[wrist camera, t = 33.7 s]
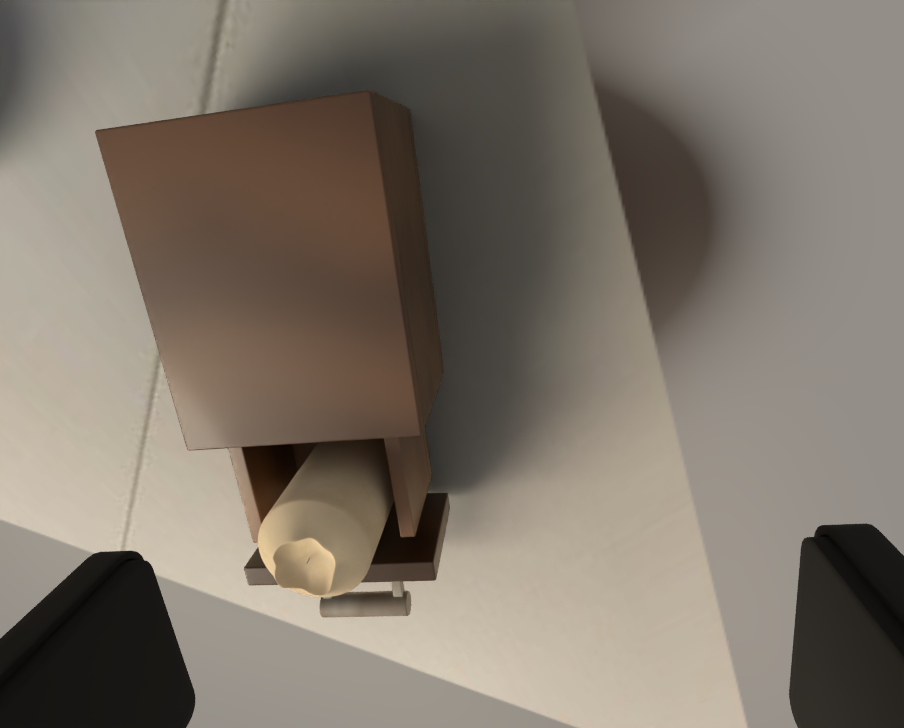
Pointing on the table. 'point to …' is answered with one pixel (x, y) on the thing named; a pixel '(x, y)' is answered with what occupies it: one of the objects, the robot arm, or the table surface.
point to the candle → (329, 519)
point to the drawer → (404, 535)
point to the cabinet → (283, 269)
